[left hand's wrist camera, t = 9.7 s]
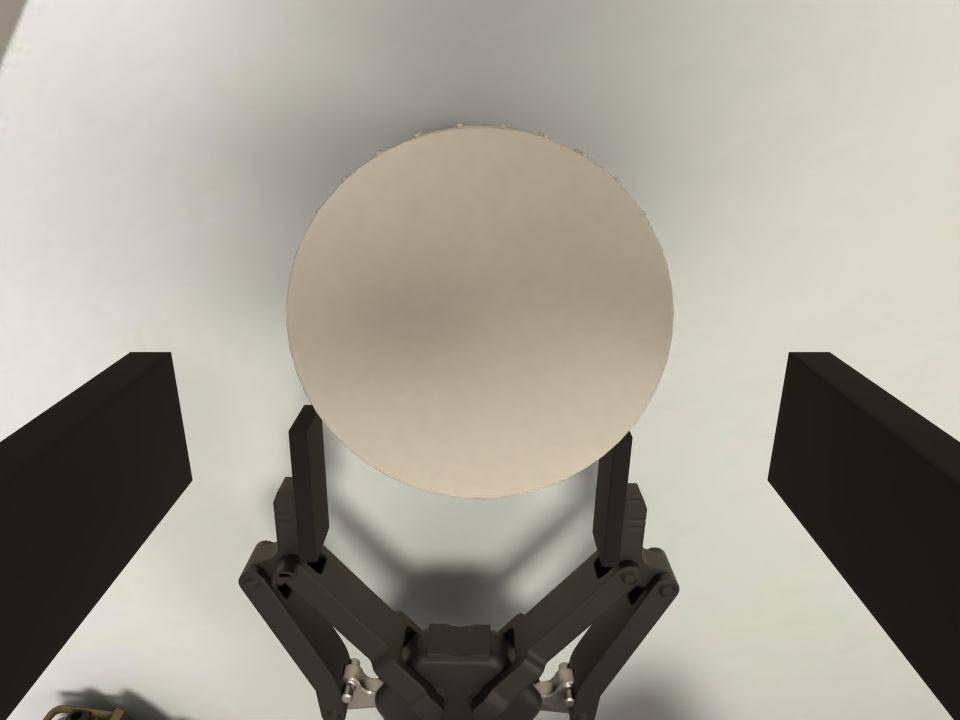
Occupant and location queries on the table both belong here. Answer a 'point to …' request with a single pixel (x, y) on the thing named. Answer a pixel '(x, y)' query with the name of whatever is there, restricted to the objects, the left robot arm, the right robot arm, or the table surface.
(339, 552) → the table surface
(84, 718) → the spray gun
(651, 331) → the lid
